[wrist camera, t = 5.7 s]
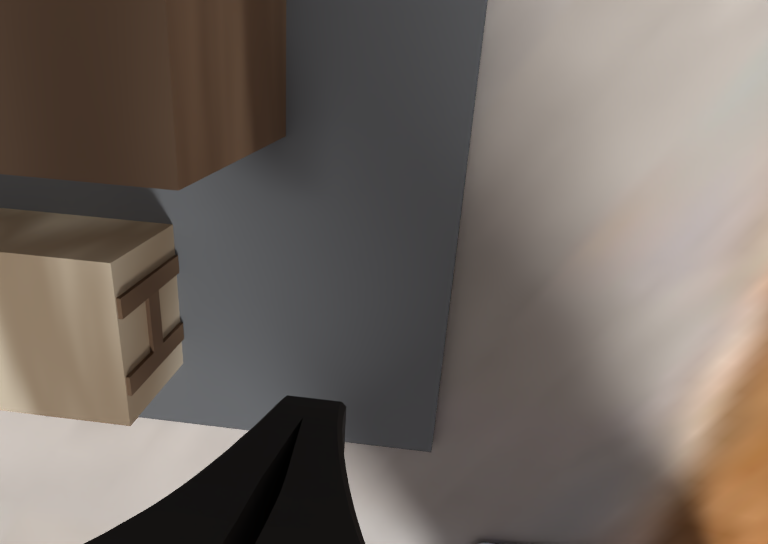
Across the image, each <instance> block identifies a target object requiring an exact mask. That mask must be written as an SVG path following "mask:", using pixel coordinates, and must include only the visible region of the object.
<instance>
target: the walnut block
mask: <svg viewBox="0 0 768 544" xmlns="http://www.w3.org/2000/svg"><path fill="white" fill-rule="evenodd" d="M285 136H286V0H0V174H4V175H15V176H26V177H37V178H48V179H58V180H69V181H80V182H91V183H102V184H113V185H123V186H134V187H145V188H156V189H167V190H177V191H179V190H181V189H183V188H185V187H187V186H189V185H191V184H193V183H195V182H197V181H199V180H201V179H203V178H204V177H206V176H208V175H210V174H212V173H214V172H216V171H218V170H220V169H222V168H224V167H226V166H228V165H230V164H232V163H234V162H236V161H238V160H240V159H242V158H244V157H246V156H248V155H250V154H252V153H254V152H256V151H258V150H260V149H262V148H264V147H266V146H268V145H270V144H272V143H274V142H275V141H277V140H279V139H281V138H283V137H285Z"/></svg>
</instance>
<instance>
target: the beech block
mask: <svg viewBox="0 0 768 544" xmlns="http://www.w3.org/2000/svg"><path fill="white" fill-rule="evenodd" d="M177 274H179V261H178V255H175V246H174V233H173V224H163V223H153V222H142V221H132V220H121V219H111V218H101V217H90V216H80V215H70V214H59V213H49V212H39V211H28V210H18V209H8V208H0V410H2V411H11V412H19V413H27V414H35V415H44V416H52V417H60V418H68V419H77V420H85V421H93V422H101V423H110V424H118V425H126V426H131V425H132V424H133V422H134V421H135V420H136V419H137V418H138V416H139V415H140V414H141V413H142V412H143V410H144V409H145V408H146V407H147V406H148V405H149V403H150V402H151V401H152V400H153V399H154V397H155V396H156V395H157V394H158V393H159V391H160V390H161V389H162V388H163V387H164V386H165V384H166V383H167V382H168V381H169V380H170V378H171V377H172V376H173V375H174V374H175V372H176V371H177V370H178V369H179V368H180V367H181V365H182V364H183V352H182V341H183V339H184V329H183V323H180V312H179V299H178V286H177Z"/></svg>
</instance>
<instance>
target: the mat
mask: <svg viewBox="0 0 768 544" xmlns="http://www.w3.org/2000/svg"><path fill="white" fill-rule="evenodd" d="M487 1H488V0H286V136H285V137H283V138H281V139H279V140H277V141H275V142H274V143H272V144H270V145H268V146H266V147H264V148H262V149H260V150H258V151H256V152H254V153H252V154H250V155H248V156H246V157H244V158H242V159H240V160H238V161H236V162H234V163H232V164H230V165H228V166H226V167H224V168H222V169H220V170H218V171H216V172H214V173H212V174H210V175H208V176H206V177H204V178H203V179H201V180H199V181H197V182H195V183H193V184H191V185H189V186H187V187H185V188H183V189H181V190H179V191H177V190H167V189H156V188H145V187H134V186H123V185H113V184H102V183H91V182H80V181H69V180H58V179H48V178H37V177H26V176H15V175H4V174H0V208H8V209H18V210H28V211H39V212H49V213H59V214H70V215H80V216H90V217H101V218H111V219H121V220H132V221H142V222H153V223H163V224H173V233H174V246H175V255H178V261H179V274H177V286H178V299H179V312H180V323H183V329H184V339H183V341H182V352H183V364H182V365H181V367H180V368H179V369H178V370H177V371H176V372H175V374H174V375H173V376H172V377H171V378H170V380H169V381H168V382H167V383H166V384H165V386H164V387H163V388H162V389H161V390H160V391H159V393H158V394H157V395H156V396H155V397H154V399H153V400H152V401H151V402H150V403H149V405H148V406H147V407H146V408H145V409H144V410H143V412H142V413H141V414H140V415H139V416H138V417H142V418H151V419H159V420H167V421H176V422H184V423H192V424H201V425H209V426H217V427H226V428H234V429H242V430H250V429H251V428H253V427H254V426H255V425H256V424H257V423H258V422H259V421H260V420H261V419H262V418H263V417H264V416H265V415H266V414H267V413H268V412H269V411H270V410H271V409H272V408H273V407H274V406H275V405H276V404H277V403H279V402H280V401H281V400H282V399H283V398H284V397H285V396H287V395H289V396H298V397H306V398H315V399H324V400H332V401H341V402H343V404H344V405H345V406H346V424H345V442H351V443H359V444H367V445H376V446H384V447H392V448H401V449H409V450H417V451H426V452H431V450H432V442H433V434H434V426H435V418H436V410H437V402H438V394H439V386H440V378H441V370H442V362H443V354H444V346H445V338H446V330H447V322H448V314H449V306H450V298H451V290H452V282H453V274H454V266H455V258H456V249H457V241H458V233H459V225H460V217H461V209H462V201H463V193H464V185H465V177H466V169H467V161H468V153H469V145H470V137H471V129H472V121H473V113H474V105H475V97H476V89H477V81H478V73H479V65H480V57H481V49H482V41H483V33H484V25H485V17H486V9H487Z"/></svg>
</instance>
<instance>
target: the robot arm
mask: <svg viewBox="0 0 768 544" xmlns="http://www.w3.org/2000/svg"><path fill="white" fill-rule="evenodd" d="M345 424H346V406H345V405H344V404H343V402H341V401H332V400H324V399H315V398H306V397H298V396H289V395H287V396H285V397H284V398H283V399H282V400H281V401H280V402H279V403H277V404H276V405H275V406H274V407H273V408H272V409H271V410H270V411H269V412H268V413H267V414H266V415H265V416H264V417H263V418H262V419H261V420H260V421H259V422H258V423H257V424H256V425H255V426H254V427H253V428H251V429H250V430H249V431H248V432H247V433H246V434H245V435H244V436H243V437H241V438H240V439H239V440H238V441H237V442H236V443H235V444H234V445H232V446H231V447H230V448H229V449H228V450H227V451H226V452H224V453H223V454H222V455H221V456H220V457H218V458H217V459H216V460H215V461H213V462H212V463H211V464H210V465H208V466H207V467H206V468H205V469H203V470H202V471H201V472H200V473H198V474H197V475H196V476H194V477H193V478H192V479H190V480H189V481H188V482H186V483H185V484H184V485H182V486H181V487H179V488H178V489H177V490H175V491H174V492H172V493H171V494H169V495H168V496H166V497H165V498H163V499H162V500H160V501H159V502H157V503H156V504H154V505H153V506H151V507H149V508H148V509H146V510H144V511H143V512H141V513H139V514H137V515H136V516H134V517H132V518H130V519H129V520H127V521H125V522H123V523H122V524H120V525H118V526H116V527H115V528H113V529H111V530H109V531H108V532H106V533H104V534H102V535H100V536H98V537H96V538H94V539H92V540H90V541H88V542H86V543H84V544H365V542H364V539H363V536H362V533H361V530H360V526H359V523H358V520H357V517H356V513H355V509H354V505H353V501H352V497H351V493H350V488H349V484H348V478H347V473H346V466H345V459H344V444H345ZM479 544H493V543H479Z"/></svg>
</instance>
